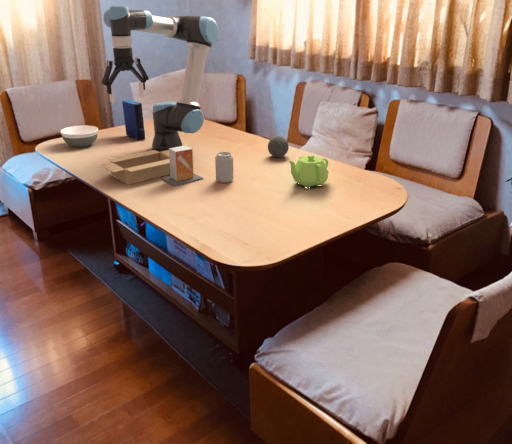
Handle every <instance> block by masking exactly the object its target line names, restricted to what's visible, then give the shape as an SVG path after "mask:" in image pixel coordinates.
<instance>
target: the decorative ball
mask: <svg viewBox="0 0 512 444" xmlns="http://www.w3.org/2000/svg"><path fill="white" fill-rule="evenodd" d="M267 151H268V153H269V154H270V155H271V156H272V157H275V158H282V157H284V156H285V155H287V154H288V151H289V142H288V140H287V139H286V138H284V137H282V136H280V135H279V136H274V137H272V138H270V139H269V141H268V144H267Z"/></svg>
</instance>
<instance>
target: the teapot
mask: <svg viewBox="0 0 512 444" xmlns="http://www.w3.org/2000/svg"><path fill="white" fill-rule="evenodd" d="M288 162H289V164H290V174H291V176H292V179H293V181H294V182H296V184H297V183H299V184H298V185H300V186H304V188H305V187H307V188H309V187H315V186H317V185H324V184H325V183H326V181H327V180H328V179H329V170H328V166H329V160H328V159H327V158H324V157H318V156H315V155H314V154H308V155H307V156H305V155H304V156H303V155H302V156H300V157H299V158H298V160H297V161H296V162H294V161H293V160H288Z"/></svg>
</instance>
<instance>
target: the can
mask: <svg viewBox="0 0 512 444" xmlns="http://www.w3.org/2000/svg"><path fill="white" fill-rule="evenodd" d="M214 159H215V161H214V162H215V180H216V181H217V182H218V183H221V184H229V183H231V182H233V180H234V177H235V175H234V156H233V155H232V153H231V152H229V151H220V152H217V153H216V156H215V158H214Z"/></svg>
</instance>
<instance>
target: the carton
mask: <svg viewBox="0 0 512 444" xmlns="http://www.w3.org/2000/svg"><path fill="white" fill-rule="evenodd" d="M108 161H109V162H104V163H100V164H99V165H100V166H102V167H103V168H105V169H107V171H110V174H111V175H110V176H112V177H113V178H116V179H117V180H119V181H121V182H123V183H124V184H125V185H132V184H136V183H139V182H144V181H148V180H152V179H156V178H162V177H166V176H170V175H171V174H170V158H169V150H166V151H161V152H158V151H156V150H153V149H152V150H147V151H141V152H138V153H133V154H129V155H124V156H118V157H115V158H109V159H108Z"/></svg>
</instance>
